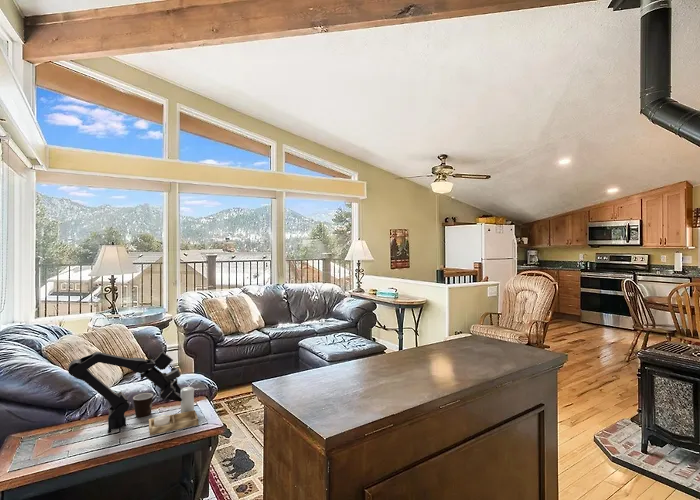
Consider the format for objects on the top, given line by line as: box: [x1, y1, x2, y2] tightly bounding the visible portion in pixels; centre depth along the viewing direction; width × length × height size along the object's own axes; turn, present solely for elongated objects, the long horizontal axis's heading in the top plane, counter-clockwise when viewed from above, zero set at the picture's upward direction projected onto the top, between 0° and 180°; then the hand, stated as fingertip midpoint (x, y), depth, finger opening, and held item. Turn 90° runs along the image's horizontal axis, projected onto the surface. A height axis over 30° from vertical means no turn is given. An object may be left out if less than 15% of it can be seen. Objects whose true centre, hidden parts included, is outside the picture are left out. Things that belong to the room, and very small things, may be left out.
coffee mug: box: [132, 392, 154, 419], centre depth 191 cm, size 12×9×10 cm
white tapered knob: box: [180, 386, 195, 413], centre depth 191 cm, size 6×6×13 cm
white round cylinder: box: [154, 414, 170, 427], centre depth 177 cm, size 6×6×4 cm
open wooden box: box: [148, 409, 199, 436], centre depth 179 cm, size 20×11×4 cm, turn 119°
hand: (182, 397), depth 191 cm, fingers open, 9 cm apart
